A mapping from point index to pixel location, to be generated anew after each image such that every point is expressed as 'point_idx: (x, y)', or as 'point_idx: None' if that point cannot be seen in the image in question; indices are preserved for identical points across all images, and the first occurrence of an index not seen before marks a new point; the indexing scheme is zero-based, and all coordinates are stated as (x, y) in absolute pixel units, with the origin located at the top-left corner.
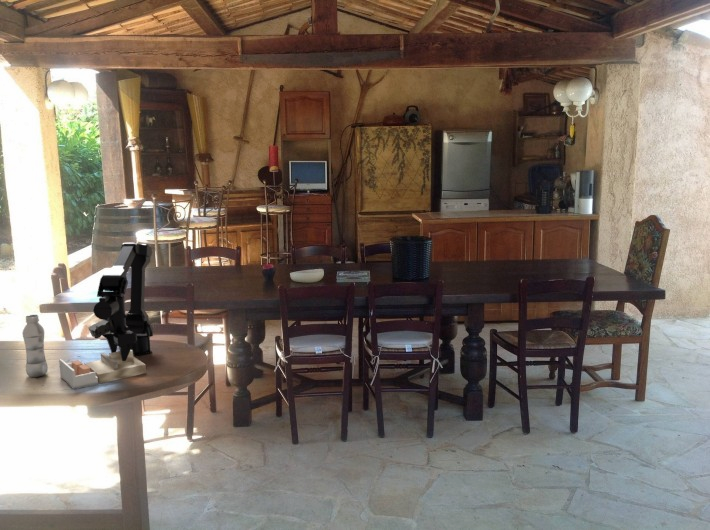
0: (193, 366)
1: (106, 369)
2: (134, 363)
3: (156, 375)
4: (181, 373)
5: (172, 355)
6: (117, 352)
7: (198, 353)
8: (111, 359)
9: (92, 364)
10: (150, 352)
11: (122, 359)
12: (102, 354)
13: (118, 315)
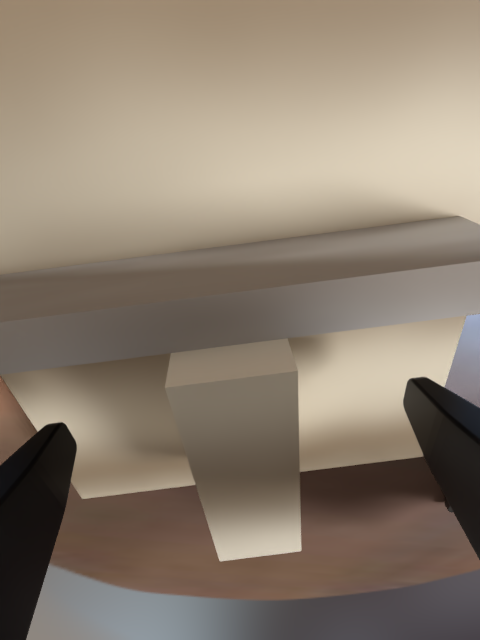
0: (116, 576)
1: (38, 197)
2: (142, 452)
3: None
4: None
5: (328, 547)
6: (258, 460)
7: (279, 597)
8: (100, 336)
9: (395, 47)
10: (446, 501)
11: (27, 443)
12: (460, 270)
13: None
